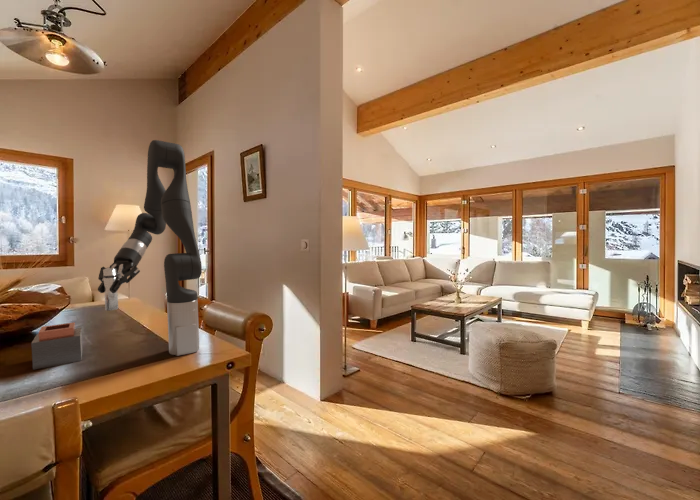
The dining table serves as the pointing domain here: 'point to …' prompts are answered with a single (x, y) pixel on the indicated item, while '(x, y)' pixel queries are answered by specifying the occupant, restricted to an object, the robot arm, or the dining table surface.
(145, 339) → the dining table surface
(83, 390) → the dining table surface
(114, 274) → the steel tube
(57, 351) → the block
